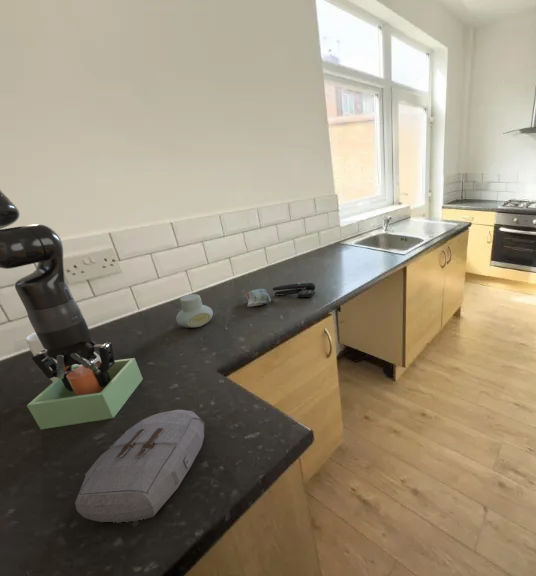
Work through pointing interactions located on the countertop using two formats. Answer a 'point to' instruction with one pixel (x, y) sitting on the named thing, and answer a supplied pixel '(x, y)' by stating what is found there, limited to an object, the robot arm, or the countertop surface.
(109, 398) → the box
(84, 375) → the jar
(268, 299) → the packaged food
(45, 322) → the robot arm
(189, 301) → the air freshener
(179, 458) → the small grey backpack
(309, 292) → the can opener
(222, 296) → the countertop surface
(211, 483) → the countertop surface
